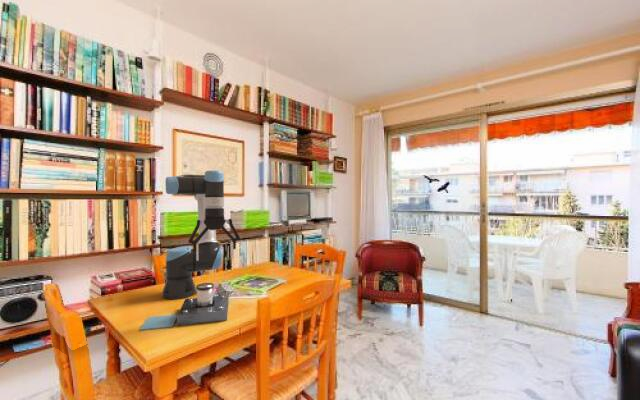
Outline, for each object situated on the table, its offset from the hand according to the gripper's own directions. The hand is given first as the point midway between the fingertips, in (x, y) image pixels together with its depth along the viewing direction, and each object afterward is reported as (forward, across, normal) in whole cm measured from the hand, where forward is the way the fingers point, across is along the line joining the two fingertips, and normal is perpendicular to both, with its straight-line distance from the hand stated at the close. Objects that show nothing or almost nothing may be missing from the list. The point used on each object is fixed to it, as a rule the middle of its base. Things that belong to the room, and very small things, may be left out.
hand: (215, 258), depth 122 cm
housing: (+23, -4, +2) cm, 23 cm away
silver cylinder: (+23, -4, +2) cm, 23 cm away
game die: (+23, +5, +18) cm, 29 cm away
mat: (+23, -20, 0) cm, 31 cm away
